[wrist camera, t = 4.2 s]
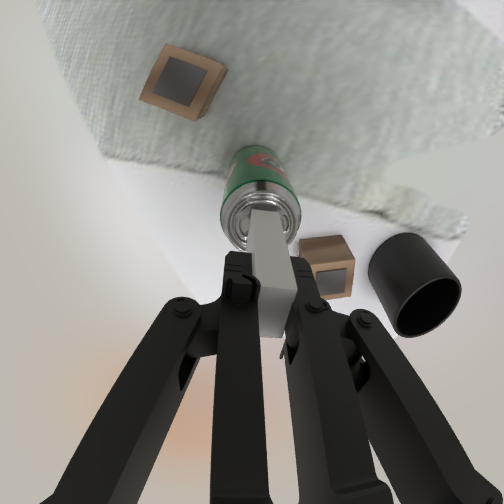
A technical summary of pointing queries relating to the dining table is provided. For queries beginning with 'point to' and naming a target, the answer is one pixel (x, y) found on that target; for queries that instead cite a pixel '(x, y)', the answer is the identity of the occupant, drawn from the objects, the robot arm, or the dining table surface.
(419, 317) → the mug
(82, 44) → the dining table surface
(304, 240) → the walnut block
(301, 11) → the dining table surface
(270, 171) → the soda can
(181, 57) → the walnut block
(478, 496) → the robot arm
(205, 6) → the dining table surface
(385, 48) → the dining table surface
